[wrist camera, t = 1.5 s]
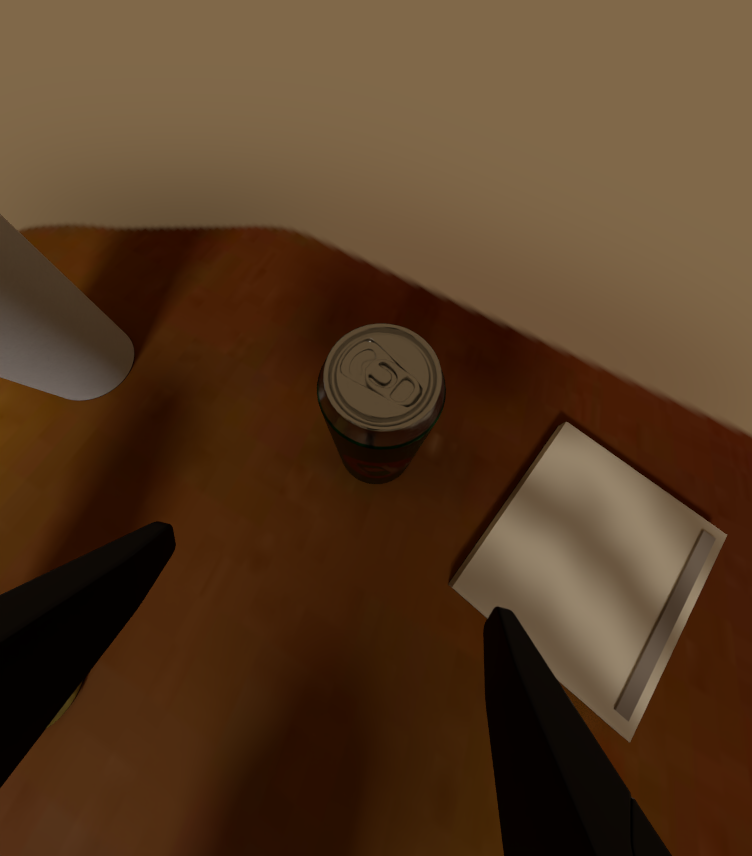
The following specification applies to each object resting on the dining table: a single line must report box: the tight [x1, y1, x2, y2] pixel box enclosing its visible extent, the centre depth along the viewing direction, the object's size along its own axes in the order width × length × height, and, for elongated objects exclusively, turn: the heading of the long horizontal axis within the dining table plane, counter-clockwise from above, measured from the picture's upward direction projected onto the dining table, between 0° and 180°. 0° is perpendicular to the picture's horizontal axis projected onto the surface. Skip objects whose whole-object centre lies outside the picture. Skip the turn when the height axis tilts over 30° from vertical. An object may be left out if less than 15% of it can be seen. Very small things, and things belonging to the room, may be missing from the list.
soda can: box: [317, 323, 446, 484], centre depth 17 cm, size 5×5×12 cm
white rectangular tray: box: [449, 422, 727, 742], centre depth 20 cm, size 14×12×1 cm
